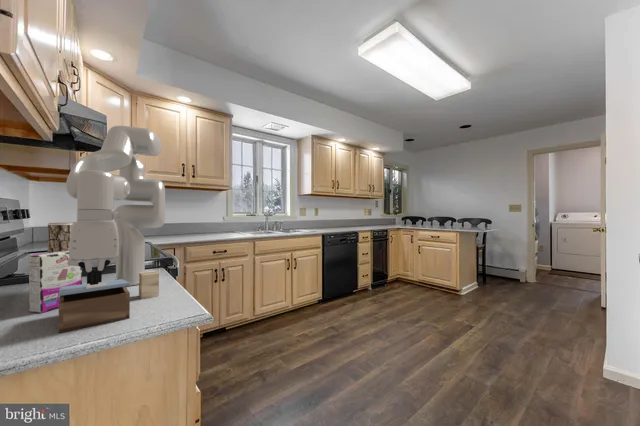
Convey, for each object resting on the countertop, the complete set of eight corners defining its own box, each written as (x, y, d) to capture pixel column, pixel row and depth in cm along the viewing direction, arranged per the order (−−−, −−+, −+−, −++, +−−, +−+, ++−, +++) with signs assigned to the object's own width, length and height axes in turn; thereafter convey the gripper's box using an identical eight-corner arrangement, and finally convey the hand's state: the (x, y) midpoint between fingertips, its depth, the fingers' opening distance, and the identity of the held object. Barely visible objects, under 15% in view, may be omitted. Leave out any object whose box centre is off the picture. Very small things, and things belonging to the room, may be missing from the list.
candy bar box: (70, 299, 88) (70, 249, 88) (82, 301, 87) (83, 250, 87) (27, 312, 77) (27, 254, 77) (40, 313, 76) (41, 255, 76)
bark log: (54, 303, 85) (55, 223, 84) (42, 300, 87) (42, 223, 87) (80, 297, 91) (81, 222, 91) (68, 294, 93) (68, 222, 93)
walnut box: (60, 314, 76) (60, 290, 76) (121, 303, 85) (122, 281, 85) (58, 333, 65) (58, 304, 65) (129, 318, 74) (129, 292, 74)
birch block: (138, 295, 94) (139, 272, 94) (155, 292, 97) (155, 270, 97) (141, 299, 90) (141, 275, 90) (158, 296, 93) (159, 273, 93)
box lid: (60, 290, 76) (60, 284, 76) (122, 281, 85) (122, 277, 85) (58, 295, 65) (58, 289, 65) (129, 285, 74) (129, 280, 74)
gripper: (127, 217, 80) (126, 279, 80) (57, 216, 70) (55, 288, 70) (131, 217, 75) (130, 283, 74) (56, 216, 65) (54, 293, 64)
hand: (94, 285), depth 72 cm, fingers closed
